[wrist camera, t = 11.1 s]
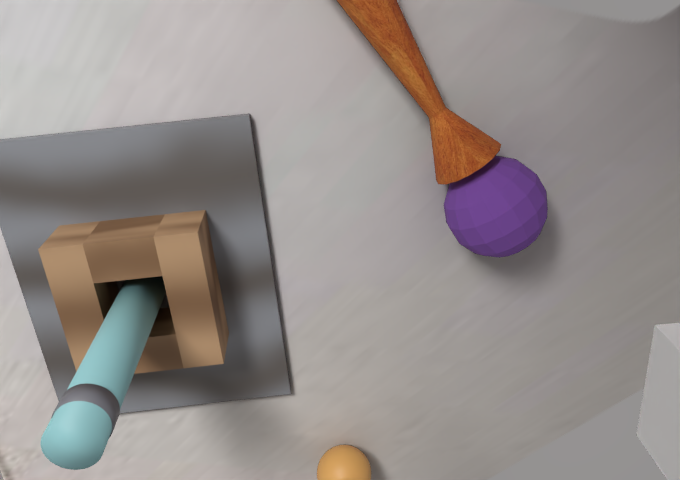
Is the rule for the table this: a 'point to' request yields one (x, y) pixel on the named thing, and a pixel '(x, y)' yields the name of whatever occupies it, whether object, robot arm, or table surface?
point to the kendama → (459, 148)
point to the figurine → (344, 464)
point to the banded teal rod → (103, 377)
